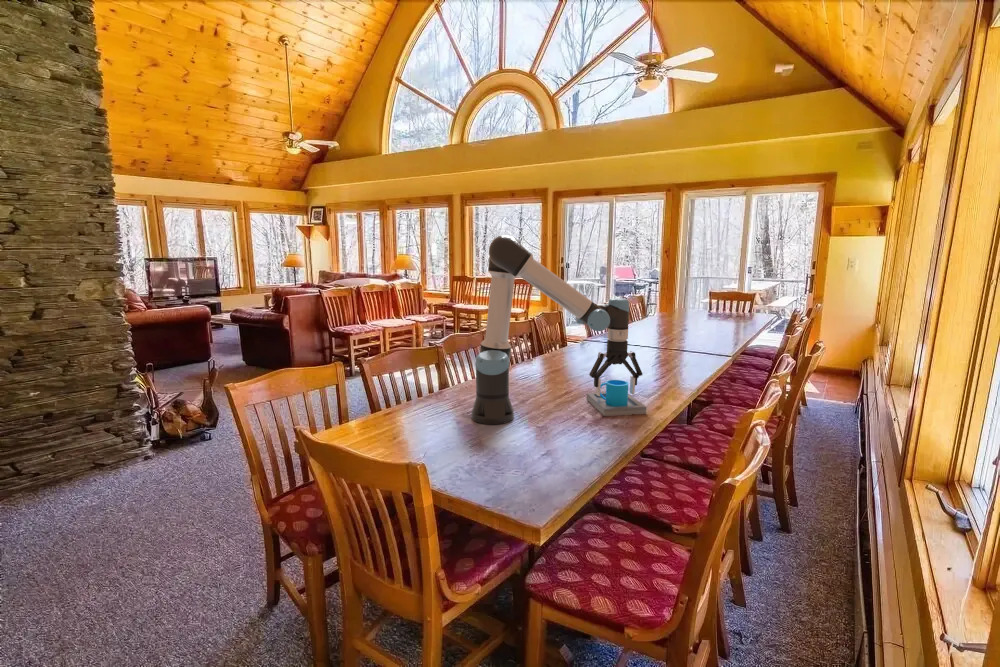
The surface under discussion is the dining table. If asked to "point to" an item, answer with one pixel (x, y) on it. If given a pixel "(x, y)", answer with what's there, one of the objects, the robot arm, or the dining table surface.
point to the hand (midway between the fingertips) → (615, 394)
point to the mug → (616, 393)
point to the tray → (607, 410)
